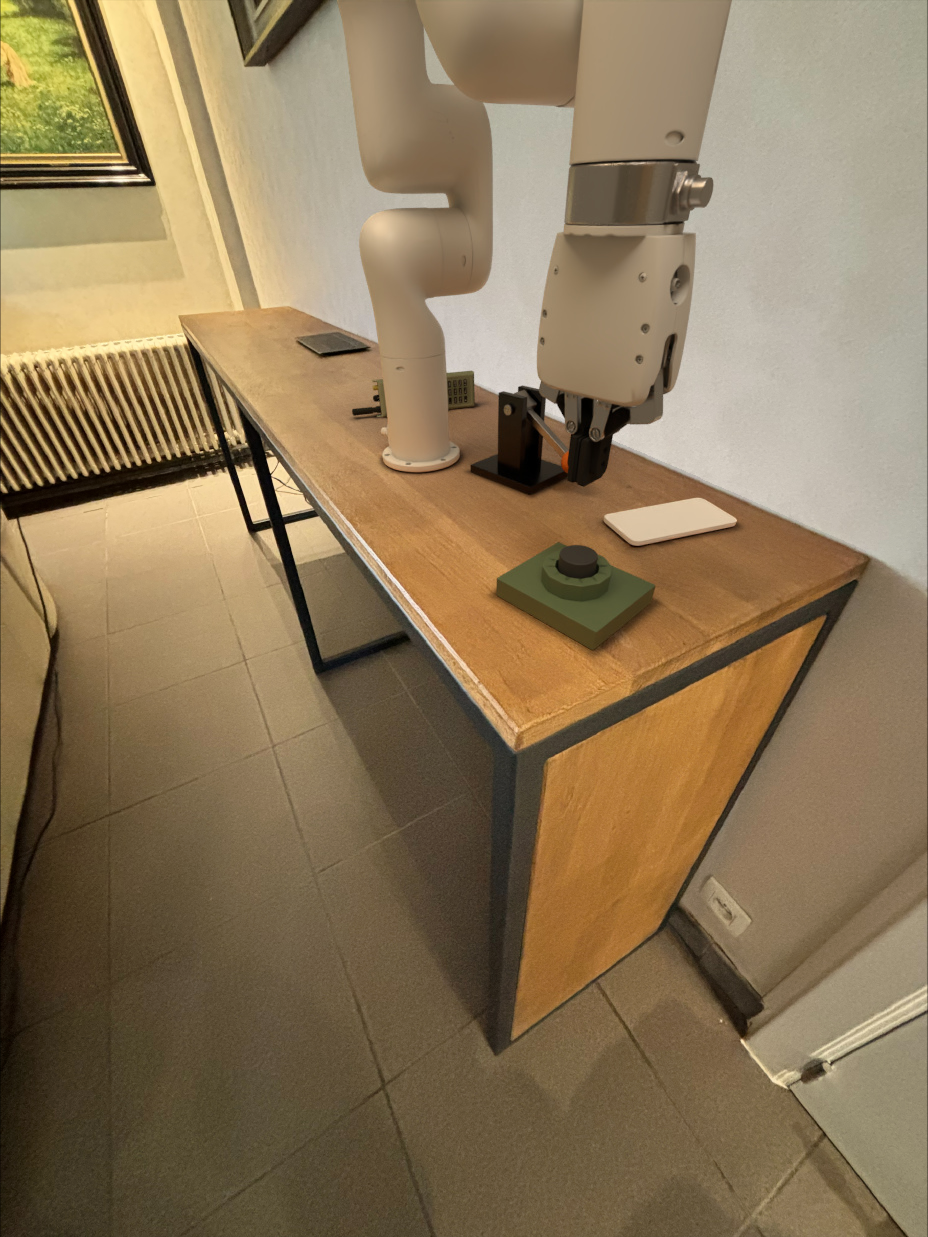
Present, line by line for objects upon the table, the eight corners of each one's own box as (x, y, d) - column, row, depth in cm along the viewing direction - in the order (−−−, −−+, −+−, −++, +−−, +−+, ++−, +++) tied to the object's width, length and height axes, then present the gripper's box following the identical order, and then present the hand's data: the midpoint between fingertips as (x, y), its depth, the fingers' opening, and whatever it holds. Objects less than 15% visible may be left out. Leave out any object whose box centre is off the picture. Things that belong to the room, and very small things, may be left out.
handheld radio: (476, 407, 102) (354, 421, 97) (471, 404, 105) (352, 417, 100) (475, 372, 98) (348, 384, 93) (470, 369, 101) (346, 381, 96)
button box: (496, 595, 52) (496, 562, 49) (556, 558, 57) (559, 527, 54) (592, 650, 45) (599, 616, 42) (651, 602, 50) (660, 569, 47)
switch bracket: (569, 476, 74) (578, 392, 67) (529, 495, 70) (534, 407, 62) (509, 455, 81) (512, 377, 74) (470, 472, 77) (468, 390, 69)
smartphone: (740, 521, 61) (634, 542, 57) (738, 526, 61) (633, 548, 58) (700, 496, 66) (601, 514, 63) (698, 501, 67) (600, 520, 63)
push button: (550, 569, 49) (551, 554, 47) (572, 555, 50) (574, 540, 49) (580, 584, 46) (583, 569, 45) (602, 569, 48) (605, 554, 47)
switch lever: (581, 474, 69) (593, 458, 67) (567, 481, 68) (579, 465, 65) (518, 404, 72) (528, 386, 69) (503, 409, 70) (512, 391, 67)
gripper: (772, 202, 29) (686, 492, 41) (567, 204, 37) (545, 445, 49) (713, 205, 25) (637, 525, 37) (498, 206, 34) (493, 467, 45)
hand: (585, 478), depth 43 cm, fingers closed
